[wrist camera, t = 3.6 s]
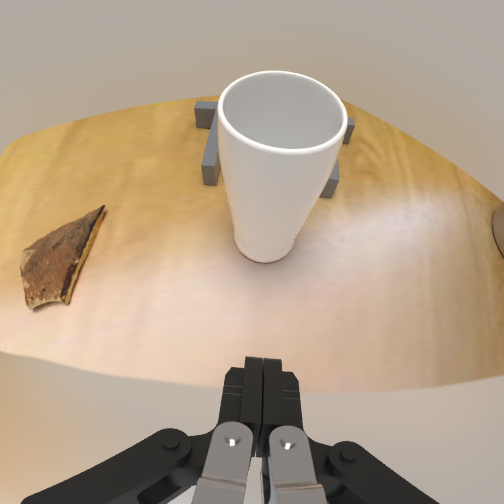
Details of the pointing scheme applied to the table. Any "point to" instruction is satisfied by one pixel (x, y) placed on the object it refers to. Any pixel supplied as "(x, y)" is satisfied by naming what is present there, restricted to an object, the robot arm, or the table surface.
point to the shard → (58, 260)
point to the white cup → (276, 156)
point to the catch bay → (211, 162)
